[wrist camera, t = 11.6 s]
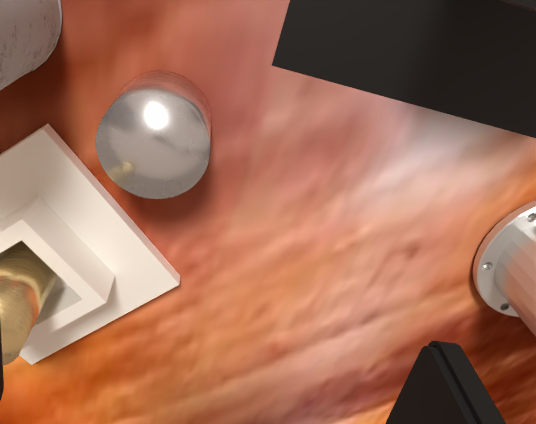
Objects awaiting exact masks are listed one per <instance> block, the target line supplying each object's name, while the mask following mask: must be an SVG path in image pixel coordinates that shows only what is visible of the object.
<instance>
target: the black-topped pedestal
mask: <svg viewBox="0 0 536 424" xmlns="http://www.w3.org/2000/svg"><path fill="white" fill-rule="evenodd" d="M272 65H273V66H277V67H280V68H284V69H288V70H291V71H295V72H298V73H302V74H306V75H309V76H313V77H316V78H320V79H324V80H327V81H331V82H335V83H338V84H342V85H345V86H349V87H353V88H356V89H360V90H364V91H367V92H371V93H374V94H378V95H382V96H385V97H389V98H393V99H396V100H400V101H403V102H407V103H411V104H414V105H418V106H422V107H425V108H429V109H432V110H436V111H440V112H443V113H447V114H451V115H454V116H458V117H461V118H465V119H469V120H472V121H476V122H480V123H483V124H487V125H490V126H494V127H498V128H501V129H505V130H509V131H512V132H516V133H519V134H523V135H527V136H530V137H534V138H536V0H290V3H289V6H288V10H287V13H286V17H285V21H284V24H283V28H282V31H281V35H280V38H279V42H278V45H277V49H276V53H275V56H274V60H273V63H272Z"/></svg>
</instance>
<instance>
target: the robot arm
mask: <svg viewBox="0 0 536 424" xmlns="http://www.w3.org/2000/svg"><path fill="white" fill-rule="evenodd" d="M473 281H474V284H475V287H476V290H477V291H478V293H479V294H480V296H481V297H482V299H483V300H484V301H485V302H486V303H487V305H488V306H490V307H491V308H493V309H494V310H495V311H497V312H500V313H502V314H505V315H509V316H515V317H520V318H521V319H522V321H523V322H524V323H525V324H526V326H527V327H528V328H529V329H530V330H531V332H532V333H533V334H534V335H535V337H536V200H535V201H533V202H530V203H528V204H526V205H524V206H522V207H520V208H518V209H516V210H515V211H513V212H512V213H510V214H509V215H507V216H506V217H505V218H504V219H502V220H501V221H500V222H499V223H498V224H497V225H496V226H495V227H494V228H493V229H492V230H491V231H490V232H489V233H488V235H487V236H486V237H485V239H484V241H483V242H482V244H481V245H480V247H479V249H478V252H477V254H476V257H475V260H474V265H473ZM3 388H4V382H3V362H2V342H1V321H0V400H1V397H2V394H3ZM386 424H506V423H505V421H504V419H503V418H502V416H501V414H500V413H499V411H498V409H497V408H496V406H495V404H494V402H493V401H492V399H491V397H490V396H489V394H488V392H487V390H486V389H485V387H484V385H483V384H482V382H481V380H480V379H479V377H478V375H477V373H476V372H475V370H474V368H473V367H472V365H471V363H470V361H469V360H468V358H467V356H466V355H465V353H464V351H463V350H462V348H461V347H460V346H459V345H458V344H456V343H448V342H440V341H432V342H431V343H429V345H428V346H424V347H423V348H422V349H421V351H420V353H419V355H418V357H417V359H416V361H415V364H414V366H413V368H412V370H411V372H410V374H409V376H408V378H407V380H406V382H405V384H404V386H403V388H402V390H401V392H400V394H399V396H398V399H397V401H396V403H395V405H394V407H393V409H392V411H391V413H390V415H389V417H388V419H387V421H386Z"/></svg>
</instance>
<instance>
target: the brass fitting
mask: <svg viewBox="0 0 536 424" xmlns="http://www.w3.org/2000/svg"><path fill="white" fill-rule="evenodd" d="M57 277H58V275H57V274H56V273H55V272H54V271H53V270H52V269H51V268H50V267H49V266H48V265H47V264H46V263H45V262H44V261H43V260H42V259H41V258H40V257H39V256H38V255H36V254H35V253H34V252H33V251H32V250H31V249H30V248H29V247H28V246H27V245H26V244H25V243H24V242H23V241H22V240H21V241H19V242H18V243H16V244H14V245H13V246H11V247H9V248H8V249H6V250H4V251H3V252H1V253H0V321H1V342H2V362H3V365H6V364H8V363H10V362H12V361H14V360H15V359H16V358H17V357H18V355H19V354H20V352H21V350H22V348H23V346H24V344H25V342H26V339H27V337H28V335H29V333H30V331H31V329H32V327H33V325H34V323H35V321H36V319H37V317H38V315H39V313H40V311H41V309H42V307H43V305H44V303H45V301H46V299H47V297H48V295H49V293H50V291H51V289H52V287H53V285H54V283H55V281H56V279H57Z"/></svg>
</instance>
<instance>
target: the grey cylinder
mask: <svg viewBox="0 0 536 424" xmlns="http://www.w3.org/2000/svg"><path fill="white" fill-rule="evenodd" d="M61 25H62V8H61V0H0V90H2V89H3V88H5V87H6V86H8V85H9V84H11V83H12V82H14V81H15V80H17V79H18V78H20V77H22V76H23V75H25V74H27V73H29V72H31V71H34V70H35V69H36V68H38V67H39V66H40V65H41V64H43V63H44V62H45V61H46V60H47V59H48V57H49V56H50V54H51V53H52V52H53V50H54V49H55V47H56V44H57V41H58V39H59V36H60V33H61Z"/></svg>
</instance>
